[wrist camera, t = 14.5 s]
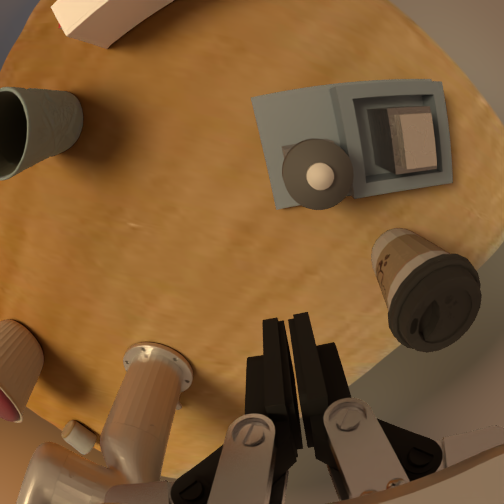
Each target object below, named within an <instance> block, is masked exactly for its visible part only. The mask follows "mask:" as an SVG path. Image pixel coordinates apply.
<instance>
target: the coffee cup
mask: <svg viewBox="0 0 504 504" xmlns="http://www.w3.org/2000/svg"><path fill="white" fill-rule="evenodd" d="M371 258H372V259H371V260H372V266H373V269H374V272H375V275H376V277H377V280H378V283H379V285H380V288H381V291H382V294H383V297H384V299H385V302H386V305H387V308H388V311H389V312H388V322H389V328H390V330H391V332H392V334H393V335H394V337H395V338H397V340H398V342H400V343H401V344H403V345H404V346H406V347H407V348H412V349H415V350H417V351H422V352H433V351H438V350H441V349H443V348H445V347H447V346H449V345H451V344H452V343H454V342H455V341H457V340H458V339H459V338H460V337H461V336H462V335H463V334H464V333H465V332H466V331H467V330H468V329H469V328H470V326H471V325H472V323H473V321H474V320H475V318H476V316H477V313H478V311H479V308H480V304H481V291H480V281H479V277H478V273H477V271H476V270H475V269H474V267H473V266H472V264H471V263H470V262H469V260H468V259H467V258H464V257H462V256H460V255H458V254H450V253H448V252H446V251H445V250H443V249H441V248H440V247H438V246H436V245H434V244H433V243H431V242H429V241H428V240H426V239H424V238H422V237H421V236H419V235H417V234H415V233H414V232H412V231H409V230H407V229H402V228H394V229H391V230H388V231H386V232H385V233H383V234H382V235H381V236H380V237H379V238H378V239H377V240H376V242H375V244H374V246H373V248H372V254H371Z"/></svg>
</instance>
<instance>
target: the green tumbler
mask: <svg viewBox="0 0 504 504" xmlns="http://www.w3.org/2000/svg"><path fill="white" fill-rule="evenodd" d="M82 127H83V112H82V107H81V105H80V103H79V100H78V99H77V98H76V97H75V96H74V95H73V94H71V93H69V92H66V91H57V90H53V91H52V90H47V89H32V88H29V89H25V88H16V87H3V88H0V180H6V179H9V178H11V177H13V176H14V175H16V174H18V173H20V172H22V171H23V170H25V169H27V168H29V167H31V166H33V165H35V164H36V163H38V162H40V161H42V160H44V159H47V158H49V157H50V156H51V157H52V156H55V155H57V154H59V153H61V152H64V151H66V150H67V149H69V148H70V147H71V146H72V145H73V144H74V143H75V142H76V141H77V139H78V138H79V135H80V133H81V130H82Z"/></svg>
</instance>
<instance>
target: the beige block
mask: <svg viewBox="0 0 504 504" xmlns="http://www.w3.org/2000/svg"><path fill="white" fill-rule="evenodd" d="M366 110H367V116H368V121H369V127H370V133H371V139H372V146H373V153H374V160H375V165H377V166H379V167H381V168H384V169H386V170H388V171H390V172H392V173H394V174H396V175H397V174H404V173H411V172H418V171H425V170H433V169H437V158H436V147H435V137H434V129H433V121H432V114H431V110H430V106H399V107H385V108H374V109H366Z"/></svg>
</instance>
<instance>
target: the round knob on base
mask: <svg viewBox="0 0 504 504" xmlns="http://www.w3.org/2000/svg"><path fill="white" fill-rule="evenodd" d="M282 177H283V181H284V184H285V187H286V189H287V191H288V193H289V195H290V196H291V197H292V198H293V199H294V200H295V201H296V202H297V203H298V204H300V205H302V206H303V207H306V208H309V209H314V210H323V209H328V208H331V207H333V206H335V205H337V204H338V203H340V202H341V201H342V200H343V199H344V198H345V197H346V196H347V194H348V193H349V191H350V189H351V187H352V184H353V177H354V173H353V166H352V163H351V160H350V159H349V157H348V155H347V154H346V153H345V151H344V150H343V149H341V148H340V147H339V146H337V145H336V144H334V143H331V142H329V141H326V140H323V139H314V138H313V139H307V140H303V141H301V142H299V143H297V144H296V145H294V146H293V147H292V148H291V149H290V150H289V152H288V153H287V155H286V156H285V158H284V161H283V165H282Z"/></svg>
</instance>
